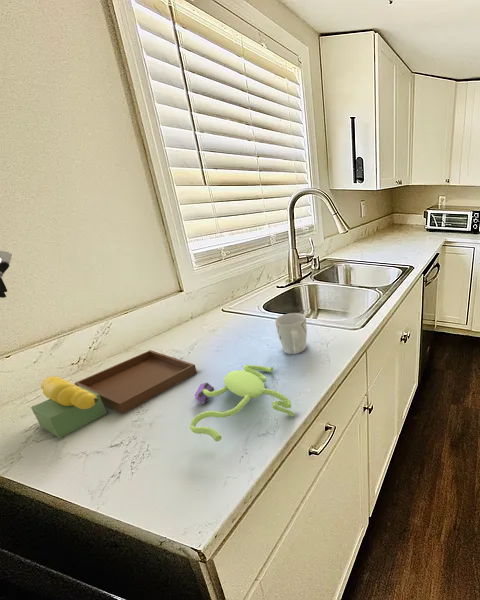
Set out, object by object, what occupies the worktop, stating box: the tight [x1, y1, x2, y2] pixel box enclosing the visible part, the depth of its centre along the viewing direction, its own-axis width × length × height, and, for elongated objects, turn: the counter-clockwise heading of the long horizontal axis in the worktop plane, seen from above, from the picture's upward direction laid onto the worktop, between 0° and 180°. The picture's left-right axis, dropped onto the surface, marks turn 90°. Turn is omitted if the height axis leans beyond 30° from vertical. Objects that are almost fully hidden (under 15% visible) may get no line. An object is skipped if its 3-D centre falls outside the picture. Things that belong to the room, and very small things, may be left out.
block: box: [30, 386, 108, 439], centre depth 69 cm, size 8×8×5 cm
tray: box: [73, 349, 198, 414], centre depth 82 cm, size 19×17×3 cm
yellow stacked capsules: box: [40, 375, 98, 409], centre depth 68 cm, size 17×4×4 cm, turn 65°
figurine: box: [189, 364, 295, 442], centre depth 73 cm, size 18×27×6 cm
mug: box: [274, 312, 308, 355], centre depth 94 cm, size 11×8×10 cm
